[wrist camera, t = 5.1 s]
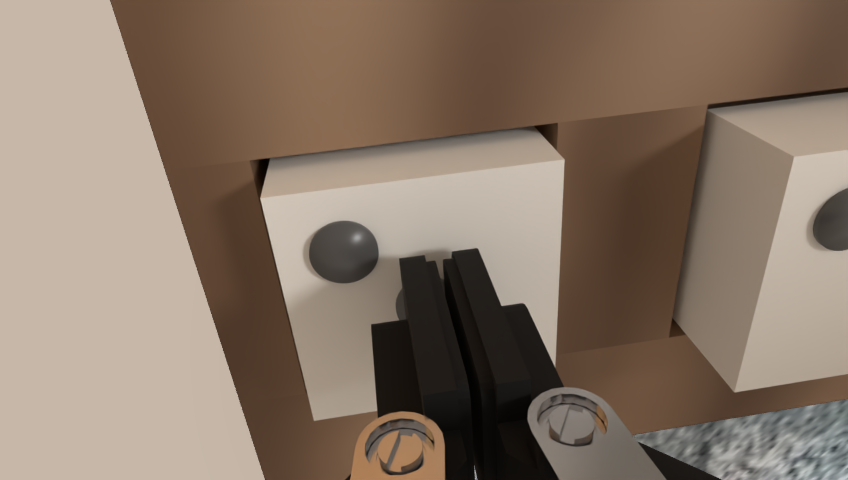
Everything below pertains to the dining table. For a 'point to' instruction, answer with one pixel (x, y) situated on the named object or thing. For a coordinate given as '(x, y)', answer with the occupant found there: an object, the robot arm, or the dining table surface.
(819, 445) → the dining table surface
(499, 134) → the tile three
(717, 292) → the tile two
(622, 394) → the panel
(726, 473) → the dining table surface
